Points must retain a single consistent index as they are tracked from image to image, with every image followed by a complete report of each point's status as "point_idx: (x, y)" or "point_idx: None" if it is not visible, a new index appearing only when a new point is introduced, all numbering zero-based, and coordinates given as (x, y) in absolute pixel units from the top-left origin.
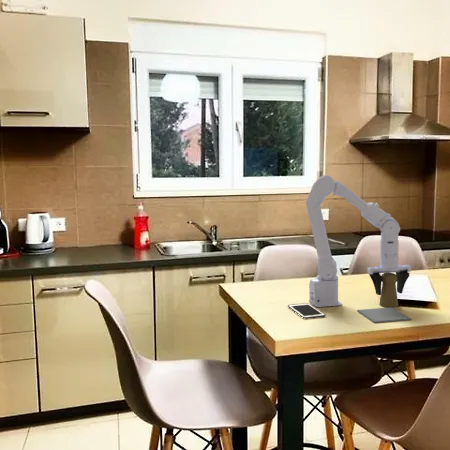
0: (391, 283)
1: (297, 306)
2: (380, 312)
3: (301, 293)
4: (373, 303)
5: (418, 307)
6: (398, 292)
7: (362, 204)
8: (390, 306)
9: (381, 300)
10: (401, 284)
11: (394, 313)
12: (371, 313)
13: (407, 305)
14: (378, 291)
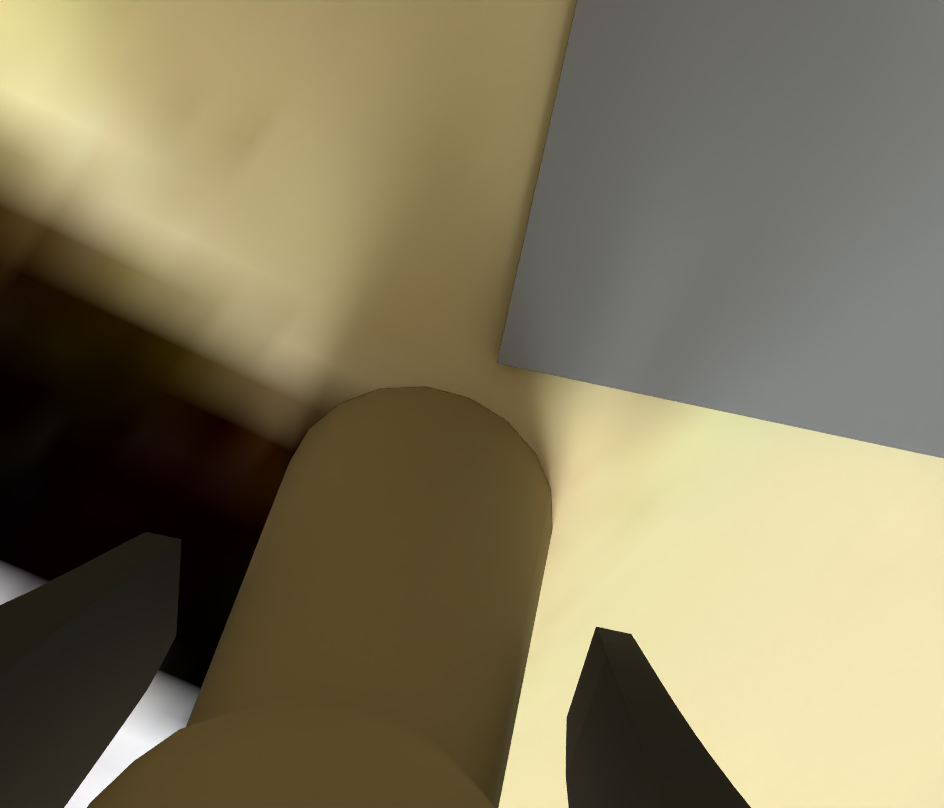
0: (365, 718)
1: None
2: (897, 201)
3: None
4: (556, 661)
5: (63, 226)
6: (177, 599)
7: None
8: (478, 414)
9: (541, 581)
10: (51, 648)
11: (723, 31)
12: None
13: (167, 385)
14: (659, 689)
